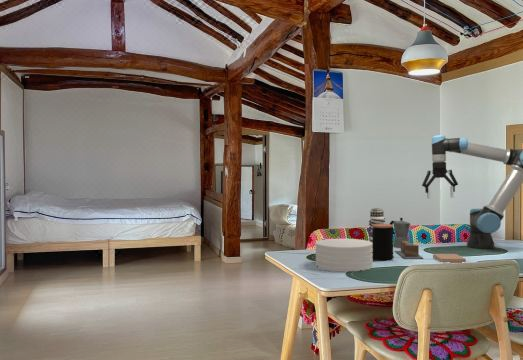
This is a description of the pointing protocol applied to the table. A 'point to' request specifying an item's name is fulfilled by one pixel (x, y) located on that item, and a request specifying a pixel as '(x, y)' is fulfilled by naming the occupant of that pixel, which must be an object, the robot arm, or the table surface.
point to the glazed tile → (449, 258)
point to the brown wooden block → (409, 249)
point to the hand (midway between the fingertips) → (440, 198)
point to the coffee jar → (382, 241)
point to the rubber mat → (407, 257)
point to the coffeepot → (400, 231)
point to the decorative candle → (375, 219)
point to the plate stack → (344, 254)
